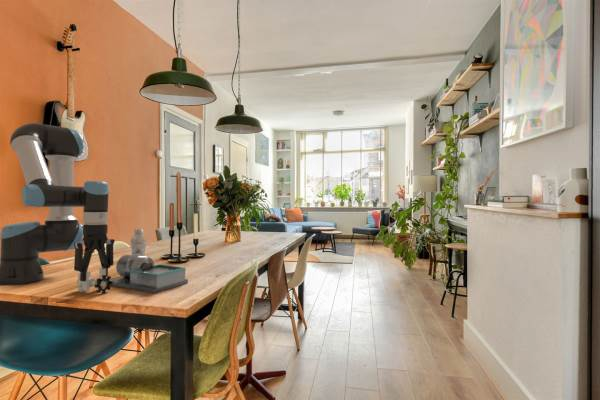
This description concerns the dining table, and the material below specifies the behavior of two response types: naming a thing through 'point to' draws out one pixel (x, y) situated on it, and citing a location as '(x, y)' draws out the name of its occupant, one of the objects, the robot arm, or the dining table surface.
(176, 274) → the motor stand
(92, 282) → the valve
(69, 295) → the dining table surface
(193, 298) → the dining table surface
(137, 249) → the plastic bottle
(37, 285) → the dining table surface
